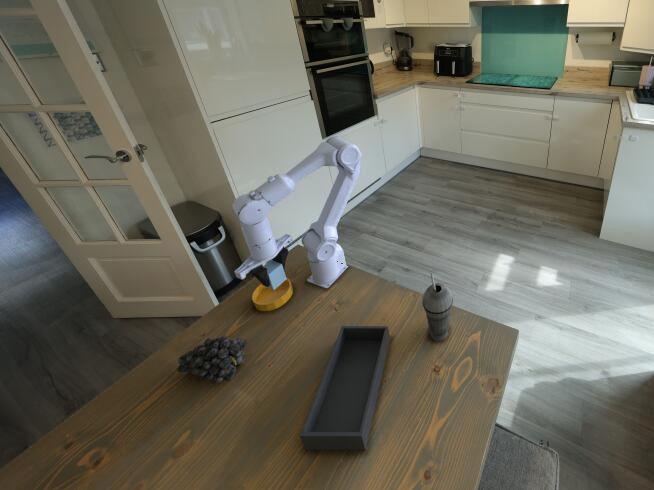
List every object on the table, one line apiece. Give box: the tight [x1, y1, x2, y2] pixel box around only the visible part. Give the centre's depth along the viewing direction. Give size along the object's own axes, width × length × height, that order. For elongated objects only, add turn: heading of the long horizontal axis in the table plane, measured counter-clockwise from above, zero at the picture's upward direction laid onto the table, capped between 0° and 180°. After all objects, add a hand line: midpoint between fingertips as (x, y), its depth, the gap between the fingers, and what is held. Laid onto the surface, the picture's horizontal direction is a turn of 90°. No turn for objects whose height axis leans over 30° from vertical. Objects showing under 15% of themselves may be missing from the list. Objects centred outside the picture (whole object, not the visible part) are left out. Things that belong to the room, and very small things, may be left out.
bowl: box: [251, 277, 294, 312], centre depth 87 cm, size 9×9×3 cm
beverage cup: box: [421, 272, 454, 342], centre depth 75 cm, size 7×7×20 cm
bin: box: [299, 325, 391, 451], centre depth 66 cm, size 21×11×5 cm, turn 0°
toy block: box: [262, 259, 288, 290], centre depth 82 cm, size 4×4×6 cm
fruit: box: [176, 335, 248, 385], centre depth 69 cm, size 9×8×15 cm
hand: (273, 278), depth 83 cm, fingers closed on toy block, 4 cm apart
